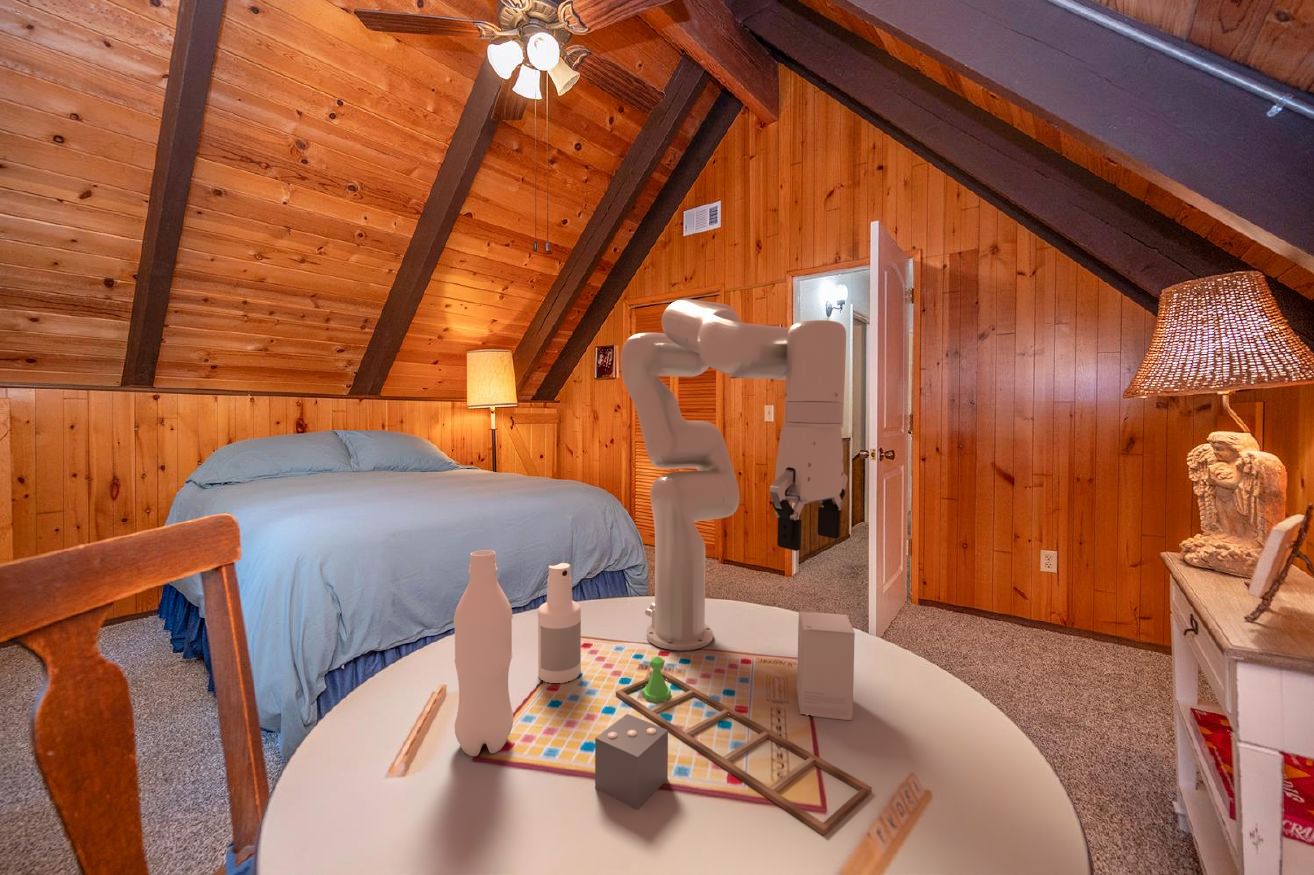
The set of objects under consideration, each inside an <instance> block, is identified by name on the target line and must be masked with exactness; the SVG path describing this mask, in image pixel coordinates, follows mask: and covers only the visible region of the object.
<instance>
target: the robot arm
mask: <svg viewBox="0 0 1314 875" xmlns="http://www.w3.org/2000/svg"><path fill="white" fill-rule="evenodd" d="M741 320H742V319H741V318H740V317H739V315H738V314H737V312H736V311H735V310H734V308H732V307H731V306H729V305H728V304H725V303H720V302H713V301H706V300H697V299H690V298H689V299H688V298H687V299H686V298H684V299H679V300H676V301H674V302H672V303H671V304H669V305H668V306H667V307H666V308H665V310H664V311H663V314H662V316H661V327H662V330H663V332H641V333H636V334H633V335H632V336H630V337H628V338H626V340H625V341H624V344H623V346H622V349H621V354H620V369H621V370H620V371H621V376H622V380H623V383H624V386H625V388H626V391H627V392H628V395H629V397H630V399H631V401H632V402H633V405H634V407H635V410H636V415H637V418H638V422H639V426H640V430H641V434H642V438H643V441H644V442H643V443H644V446H645V450H646V453H647V457H648V459H649V462H650V464H652V466H654V467H655V468H658V469H663V470H677V469H679V470H680V469H696V470H685V471H673V472H669V473H665V474H662V475H660V476H658V477H657V478H656V479H655V480H654V481H653V483H652V485H651V487H650V493H649V497H650V498H649V499H650V506H651V511H652V516H653V517H652V518H653V527H654V550H655V552H654V556H655V557H654V558H655V559H654V566H655V567H654V602H652V603H651V604H650V606H649V608H646V609H645V612H644V614H645V616H647V617H650V618H651V624H650V625H649V626H648V627H647V629H646V639H647V641H649V643H651V644H652V645H653V646H656V647H658V648H661V649H665V650H670V651H683V652H684V651H693V650H698V649H701V648H704V647H706V646H708V645H709V644H710V643H711V642H712V641H713V639H714V638H713V637H714V636H713V634H714V632H713V629H712V628H711V627H710V626H709V625H707V624H706V623H705V622H706V616H705V614H706V608H705V606H706V543H705V540H704V538H703V537H702V535H701V533H700V531H699V530H698V528H697V527H696V523H697V522H703V521H711V520H718V519H725V518H729V517H730V516H732V515H734V514H735V512H736V511H737V510H738V508H739V505H740V495H741V494H740V488H739V484H738V480H737V477H736V472H735V470H734V467H733V464H732V463H733V462H732V460H731V457H730V454H729V451H728V448H727V447H728V446H727V444H726V441H725V438H724V436H723V434H722V432H721V430H720V428H718V427H717V426H716V425H715V424H714V423H712V422H709V421H707V420H706V421H705V420H687V419H685V418H684V417H683V415H682V413H681V409H680V406H679V401H678V400H677V397H676V395H675V394H674V392H672V390H671V389H670V387H669V386H667V384H665V383H664V382H663V381H662V380H661V379H660V378H659V376H661V377H677V378H679V377H681V378H692V377H698V376H700V375H702V374H703V373H705V371H707V370H708V369H709V368H711V369H713V370H715V371H718V372H720V373H722V374H724V375H728V376H730V377H734V378H735V377H736V378H740V379H758V380H759V379H760V380H761V379H762V380H778V381H781V380H782V381H785V396H784V398H785V402H784V425H782V427H781V432H780V437H779V440H778V446H777V455H776V463H775V476H774V482H773V483H772V484H771V485H770V486H769V494H770V497H771V500H772V502H771V503H772V508H773V509H774V510H775V512H774V514H775V515H774V516H775V517H776V518H777V538H776V539H777V542H776V544H777V547H779V548H781V549H782V548H783V549H787V550H790V551H794V552H797V551H800V550H801V548H802V544H801V543H802V519H799V517H800V515H801V512H802V510H803V508H804V506H805V505H806V504H812V503H817V502H819V503H820V505H821V506H819V507H817V508H818V509H817V530H816V531H817V532H816V533H817V534H818V536H821V537H826V538H831V539H835V540H837V539H839V538H840V537H841V514H842V509H843V507H844V502H843V500H844V498H845V496H846V487H847V483H848V480H849V477H848V475H846V474H845V473H844V448H843V434H842V433H843V432H842V428H843V427H844V410H845V407H844V406H845V402H844V401H845V383H846V352H847V330H846V327H845V326H844V325H843V324H842V323H840V322H838V321H834V320H826V319H825V320H821V319H815V320H804V321H799V322H796V323H794V324H792V325H791V326H790V327H783V326H776V325H775V326H774V325H767V324H766V325H765V324H755V323H754V324H753V323H748V322H747V323H745V322H742V321H741ZM791 504H793V506H792V505H791Z"/></svg>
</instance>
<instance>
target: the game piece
mask: <svg viewBox="0 0 1314 875" xmlns="http://www.w3.org/2000/svg"><path fill="white" fill-rule="evenodd" d="M664 666H665V660H664V658H663V657H660V656H654V657H652V658H651V660H650V663H649V667H650V668H652V669H653V670H652V672H651V674H650V676H649V678H650V679H649V682H648V684H647V685H645V687H644V688H643V689H642V693H641V694H643V695H642V696H643V698H644V697H645V698H644V699H645V700H646V701H648V700H650V701H649V702H653V703H660V702H661V703H662V702H666V701H668V700H669V698H670V697H671V695H672V694H671V693H672V692H671V691H672V690H671V688H670V687H669V686H668V685H667V684H666V681H665V679H664V678H663V676H662V671H661V670H663V668H664ZM669 696H670V697H669ZM665 700H666V701H665Z"/></svg>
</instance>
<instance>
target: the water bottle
mask: <svg viewBox="0 0 1314 875" xmlns="http://www.w3.org/2000/svg"><path fill="white" fill-rule="evenodd" d="M469 558H470V564H469V569H468V572H467V573H468V574H469V581H468V584H467V587H466V588H465V590H464V593H463V594H462V596H461V598H460V599H459V602H458V604H457V606H456V609H455V612H454V617H453V625H454V665H455V668H456V673H457V674H456V675H457V681H458V706H457V713H456V717H455V721H454V734H455V737H456V740H457V741H458V744H459V746H460V747H461V749H462V751H463V752H464V753H465V754H466V755H467V756H470V757H479V754H480V752H481V749H482V747H483V745H486V748H487V749H488V751H489V753H490V754H496V753H497V752H499V751H501V750H502V749H503V747H504V746H505V744H506V742H507V741H508V739H509V736H510V734H511V731H512V728H513V725H514V711H513V708H512V704H511V698H510V691H509V690H510V689H509V673H510V672H509V671H510V666H511V661H512V657H513V649H512V648H513V646H512V644H513V643H512V642H513V641H512V640H513V639H512V638H513V636H512V632H513V630H512V629H513V628H512V627H513V626H512V625H513V624H512V623H513V622H512V619H513V610H512V606H511V603H510V601H509V599H508V598H507V595H506V594H505V592H504V590H503V589H502V587H501V586H500V584H499V581H498V578H497V572H498V571H499V569H498V567H497V562H496V551H494V550H491V549H481V550H476V551H472V552H471V553H470V557H469Z"/></svg>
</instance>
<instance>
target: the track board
mask: <svg viewBox="0 0 1314 875" xmlns="http://www.w3.org/2000/svg"><path fill="white" fill-rule="evenodd" d="M661 673H662V676H663V678H664V680H665V679H667V680H668V681H667V680H666V681H667V682H669V683H671V684H672V685H674V686H676V687H678V688H680V689H681V690H683V691H684V693H681V694H679V695H677V696H675V697H673V698H671V699H667V700H666V701H663V702H661V703H660V704H657V705H656V706H653V707H651V708H648V707H647V706H646V705H644V704H642V703H641V702H640V701H638V700H636V699H635V698H633V697H632V696H630V695H629V694H628V693H631V692H633V691H635V690H638V689H640V688H639V687H641V686H643V687H644V685H645V686H646V684H648V682H649V679H650V677H648V678H645V679H643V680H640V681H637V682H636V683H633V684H631V685H628V686H626V687H623V688H621V689H619V690H616V691H615V696H616V697H617V698H619V699H620V700H622V701H624V702H625V703H626V704H628V705H629V706H631V707H632V708H634V709H635V710H637V711H638V712H640V713H641V714H643V715H644V716H645V717H647V718H649V719H650V720H651V721H653V722H654V723H656V724H657V725H658V726H659V727H662V728H664V729H667V730H668V733H671V734H672V735H674V736H675V737H677V738H678V739H680V740H681V741H682V742H685V743H686V745H689V746H690V747H691V748H693V749H694V750H696V751H697V752H699V753H701V754H702V755H703V756H705V757H706V758H708V759H709V760H711V761H713V762H714V763H715V764H717V765H718V766H719V767H721V768H722V769H724V770H726V771H727V772H728V773H730V774H732V775H733V776H735V777H736V778H738V779H739V780H740V781H742V782H743V783H745V784H746V785H748V786H749V787H751V788H752V789H754V790H755V791H757V792H758V793H760V794H761V795H763V796H764V797H766V798H767V799H769V800H770V801H772V802H773V803H774V804H776V805H777V806H779V807H781V808H782V809H784V811H787V813H789V814H791V815H793V817H795V818H797V819H798V820H799V821H802V822H803V823H804V824H805V825H807V826H809V827H810V828H811V829H813V830H815V831H816V832H817V833H819V834H820V835H822V834H823V835H822V836H823V837H824V836H826V835H827V834H828V833H829V832H830V831H831V830H832V829H833V828H834V827H835V826H836V825H837V824H839V822H841V821H842V820H843V819H844V818H845V817H846V816H847V815H848V814H849V813H851V812H852V811H853V810H854V809H855V808H856V807H857V806H858V805H859V804H860V803H862V802H863V801H864V800H865V799H866V798H867V797H868V796H869V795H871V793H872V792H873V789H872V788H873V786H871V785H869V784H867V783H866V782H864V781H862V780H860V779H858V778H856V777H854V776H853V775H851V774H849V773H847V772H845V771H844V770H842V769H840V768H838V767H836V766H835V765H833V764H831V763H829V762H828V761H826V760H823V759H822V758H821V757H819V756H817V755H815V754H813V753H811V752H809V751H808V750H806V749H804V748H803V747H801V746H799V745H797V744H796V743H793V742H792V741H789V740H788V739H786V738H784V737H783V736H781V735H779V734H778V733H776V732H774V731H772V730H770V729H768V728H766V727H765V726H763V725H761V724H760V723H757V722H756V721H754V720H752V719H751V718H748V717H747V716H745V715H743V714H741V713H739V712H737V711H736V710H734V709H733V708H730V707H729V706H727V705H725V704H723V703H722V702H720V701H718V700H716V699H715V698H713V697H711V696H709V695H707V694H706V693H703V692H701V691H700V690H698V689H697V688H694V687H693V686H691V685H689V684H688V683H685V682H684V681H682V680H680V679H678V678H677V677H675V676H673V675H672V674H669V673H668V672H666V671H661ZM637 688H638V689H637ZM641 688H642V687H641ZM693 695H694V696H693ZM695 696H696V697H695ZM691 697H695V698H697V697H698V698H697V699H698V700H700V699H701V701H702V700H704V701H706V702H707V703H709V704H711V705H712V706H711V705H710V706H711V707H713V706H714V707H716V708H718V709H719V710H718V709H717V710H718V711H719V712H718V713H716V714H713V715H712V716H710V717H708V718H706V719H704V720H702V721H700V722H698V723H697V724H694V725H692V726H691V727H689V728H687V729H685V730H682V729H681V728H679V727H677V726H676V725H675V724H673V723H672V722H670V721H668V720H667V719H665V718H664V717H662V716H661V715H659V714H658V713H659V712H661V711H664V710H666V709H668V708H670V707H672V706H674V705H676V704H679V703H681V702H683V701H685V700H687V699H689V698H691ZM682 700H683V701H682ZM704 701H703V702H704ZM706 702H705V703H706ZM707 703H706V704H707ZM709 704H708V705H709ZM714 707H713V708H714ZM716 708H715V709H716ZM720 710H721V711H720ZM728 714H729V715H730V716H732V717H734V718H735V719H736V721H737V722H739V723H741V724H742V725H744V726H746V727H748V728H749V729H751V730H753V731H755V732H756V733H758V734H757V736H754V737H753V738H751V739H750V740H748V741H746V742H745V743H743V744H741V745H739V746H738V747H736V748H735V749H733V750H732V751H730V752H729V753H727V754H725V755H723V756H722V755H721V754H719V753H717V752H716V751H714V750H713V749H711V748H710V747H708V746H706V745H705V744H704V743H702V742H700V741H699V740H697V739H696V738H694V737H692V736H693V735H694V734H696V733H698V732H700V731H702V730H704V729H705V728H707V727H709V726H712V725H713V724H714V723H715V724H716V723H717V722H718V721H721V720H722V719H724V718H726V717H727V716H726V715H728ZM725 716H726V717H725ZM730 716H729V717H730ZM723 717H724V718H723ZM732 717H731V718H732ZM734 718H733V719H734ZM735 719H734V720H735ZM716 721H717V722H716ZM767 739H769V740H771V741H772V742H774V743H776V744H777V745H780V746H781V747H783V748H785V749H786V750H788V751H790V752H791V753H793V754H795V755H797V756H798V757H800V758H802V759H804V761H803V762H801V763H800V764H798V765H797V766H795V768H793V769H791V770H790V771H788V773H786V774H784V776H782V777H780V778H779V779H778V780H776V781H775V782H774V783H772V784H771V785H769V786H768V785H766V784H764V783H763V782H761V781H760V780H759V779H757V778H755V777H754V776H752V775H751V774H749V773H748V772H746V771H745V770H743V769H741V768H740V767H739V766H737V765H736V764H734V763H732V761H734V760H735V759H737V758H738V757H740V756H742V755H743V754H745V753H746V752H748V751H750V750H751V749H752V748H754V747H756V746H757V745H759V744H761V743H762V742H764V741H765V740H767ZM813 766H816V767H818V768H819V769H821V770H823V771H825V772H827V773H828V774H830V775H832V776H834V777H835V778H837V779H838V780H841V781H842V782H844V783H845V784H847V785H849V786H851V787H853V788H854V789H857V790H858V791H857V793H855V794H854V795H853V796H852V797H850V799H848V800H847V801H846V802H845V803H844V804H842V805H841V806H840V807H839V808H838V809H837V810H836V811H834V813H833V814H832V815H830V816H829V817H827V818H826V820H825V821H821V820H819V819H818V818H816V817H815V816H813V815H812V814H810V813H809V812H807V811H806V810H804V809H802V808H801V807H800V806H799V805H797V804H795V803H794V802H792V801H790V800H789V799H787V798H786V797H784V796H783V795H781V794H780V793H778V792H779V791H781V790H782V789H783V788H785V786H787V785H789V783H791V782H792V781H793V780H795V779H796V778H797V777H799V776H800V775H802V774H803V773H804V772H806V771H807V770H808V769H810V768H811V767H813ZM829 830H830V831H829Z"/></svg>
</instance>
